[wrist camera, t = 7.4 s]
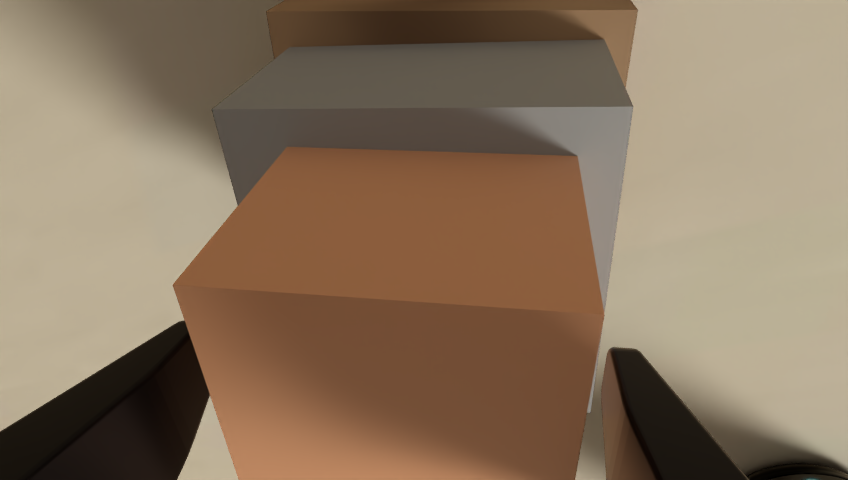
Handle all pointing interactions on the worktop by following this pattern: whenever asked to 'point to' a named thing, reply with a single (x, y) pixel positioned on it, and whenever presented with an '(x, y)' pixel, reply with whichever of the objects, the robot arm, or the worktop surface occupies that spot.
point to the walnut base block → (453, 23)
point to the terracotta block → (401, 317)
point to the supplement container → (798, 473)
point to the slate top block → (442, 112)
